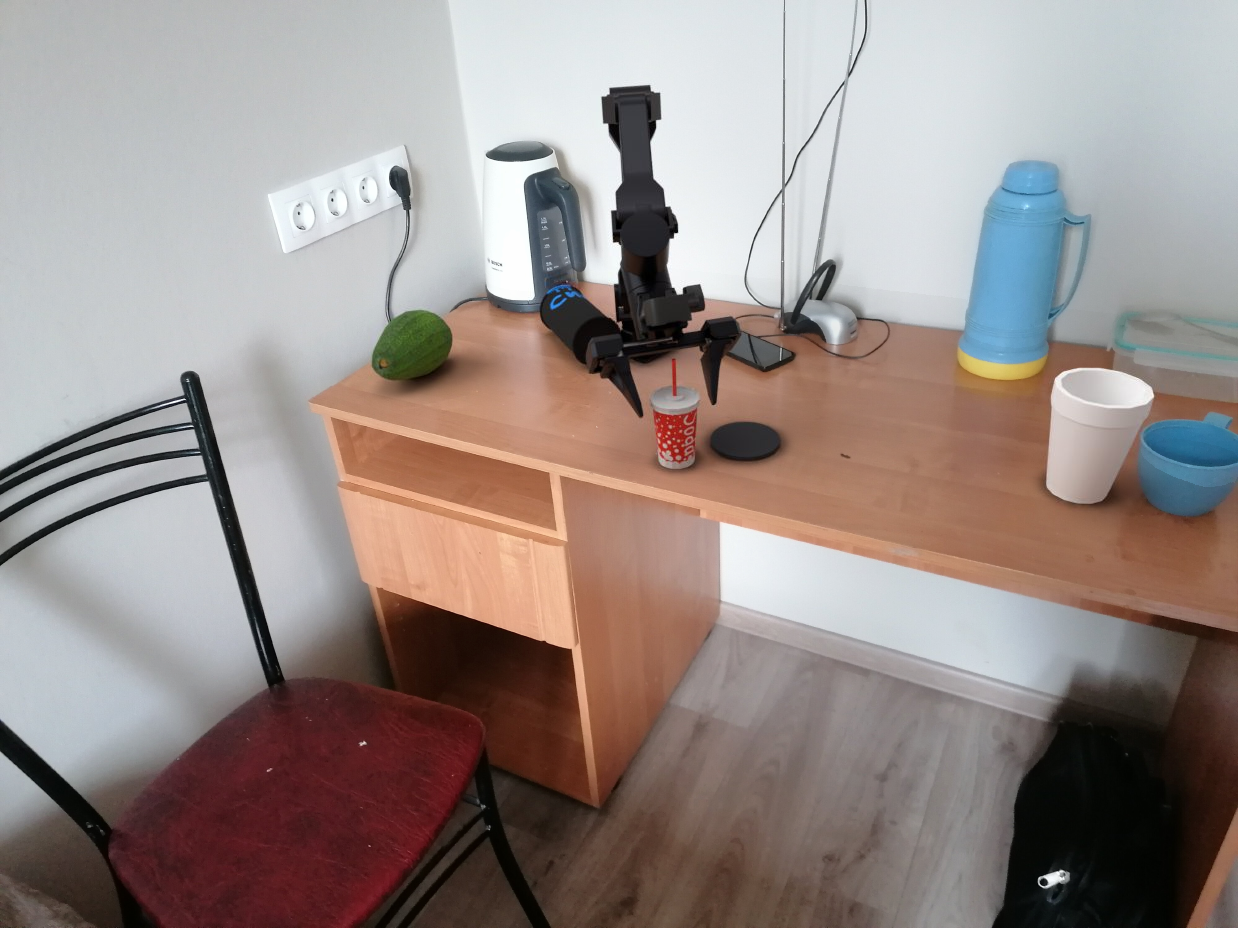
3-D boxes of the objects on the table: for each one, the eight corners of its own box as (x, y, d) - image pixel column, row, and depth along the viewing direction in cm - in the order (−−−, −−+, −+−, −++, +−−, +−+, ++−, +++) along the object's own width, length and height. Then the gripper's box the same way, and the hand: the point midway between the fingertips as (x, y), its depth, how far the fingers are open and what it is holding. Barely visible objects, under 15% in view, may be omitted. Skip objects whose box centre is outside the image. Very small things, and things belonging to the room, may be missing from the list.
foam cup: (1016, 470, 101) (1038, 371, 94) (1092, 462, 102) (1119, 364, 95) (1058, 516, 93) (1085, 412, 86) (1140, 507, 94) (1173, 403, 87)
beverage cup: (668, 477, 105) (664, 375, 97) (644, 455, 109) (638, 356, 102) (710, 463, 107) (709, 362, 99) (684, 442, 112) (682, 344, 104)
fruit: (408, 402, 126) (394, 340, 121) (359, 390, 131) (343, 330, 125) (471, 361, 137) (461, 302, 132) (423, 351, 141) (412, 294, 136)
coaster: (740, 418, 116) (740, 414, 116) (794, 440, 110) (794, 436, 110) (695, 444, 111) (695, 440, 111) (750, 469, 105) (750, 464, 105)
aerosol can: (572, 370, 131) (532, 326, 147) (621, 363, 134) (576, 320, 150) (572, 319, 127) (530, 279, 143) (622, 313, 130) (576, 274, 145)
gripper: (582, 274, 97) (611, 402, 93) (737, 252, 100) (770, 375, 97) (575, 314, 108) (600, 430, 104) (715, 293, 111) (744, 405, 107)
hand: (678, 410), depth 103 cm, fingers open, 9 cm apart
